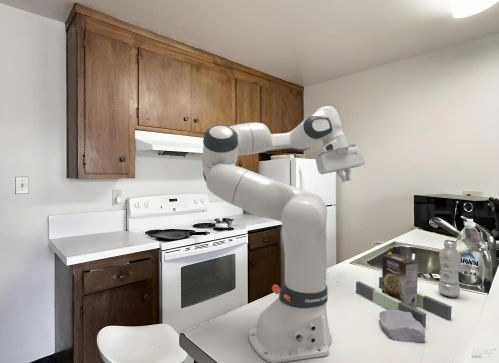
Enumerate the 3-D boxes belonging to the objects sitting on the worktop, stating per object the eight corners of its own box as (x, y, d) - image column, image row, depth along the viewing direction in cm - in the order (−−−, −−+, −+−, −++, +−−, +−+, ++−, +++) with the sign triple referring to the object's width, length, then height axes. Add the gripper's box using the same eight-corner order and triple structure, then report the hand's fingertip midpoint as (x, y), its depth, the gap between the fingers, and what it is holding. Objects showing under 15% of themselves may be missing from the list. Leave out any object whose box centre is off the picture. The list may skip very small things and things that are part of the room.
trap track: (422, 328, 81) (422, 314, 81) (355, 292, 105) (356, 281, 105) (451, 319, 86) (451, 306, 86) (381, 286, 110) (381, 276, 110)
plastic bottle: (464, 297, 101) (466, 242, 100) (451, 300, 99) (453, 244, 98) (446, 290, 107) (447, 238, 106) (433, 293, 105) (435, 240, 104)
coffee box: (380, 300, 99) (381, 254, 98) (394, 297, 101) (395, 252, 101) (403, 312, 91) (405, 262, 90) (417, 308, 93) (419, 260, 92)
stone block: (390, 348, 75) (430, 343, 74) (386, 330, 76) (426, 325, 74) (376, 325, 87) (410, 321, 86) (373, 310, 87) (407, 305, 86)
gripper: (351, 145, 116) (361, 178, 114) (310, 153, 109) (320, 187, 107) (362, 140, 110) (373, 174, 109) (319, 148, 103) (330, 184, 101)
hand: (346, 181), depth 108 cm, fingers closed
